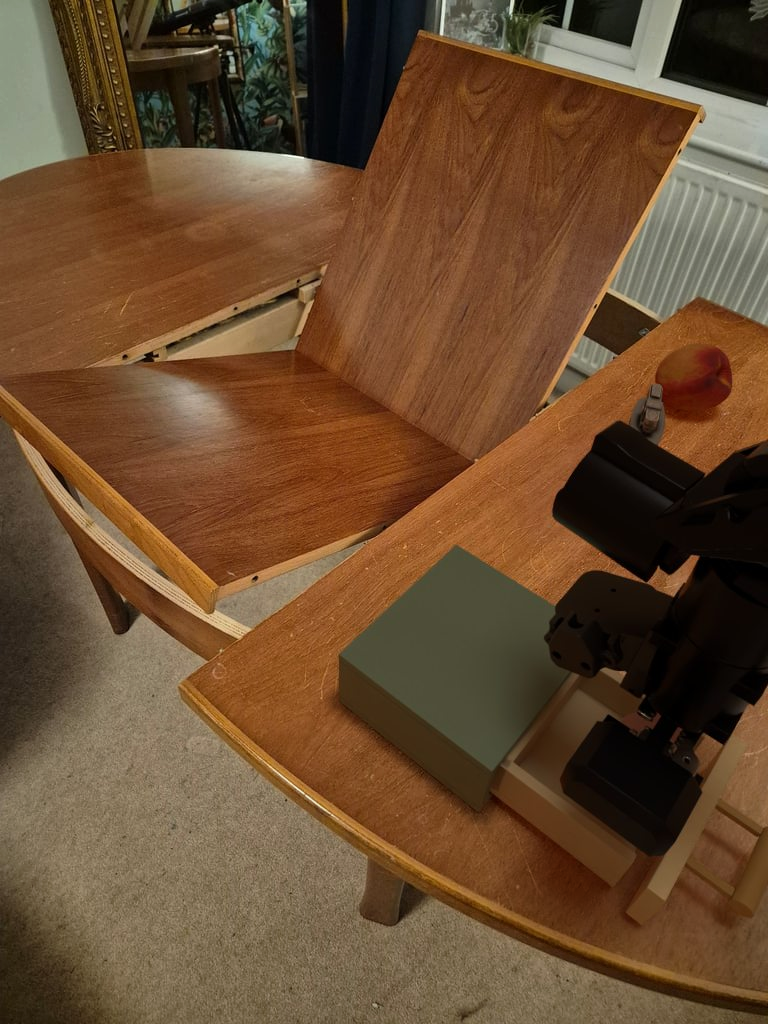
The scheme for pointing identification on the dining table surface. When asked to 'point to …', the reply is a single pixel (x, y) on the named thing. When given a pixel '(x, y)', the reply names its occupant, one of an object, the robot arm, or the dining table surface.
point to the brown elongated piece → (649, 415)
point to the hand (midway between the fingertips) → (643, 761)
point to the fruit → (695, 377)
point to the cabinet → (454, 671)
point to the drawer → (540, 800)
